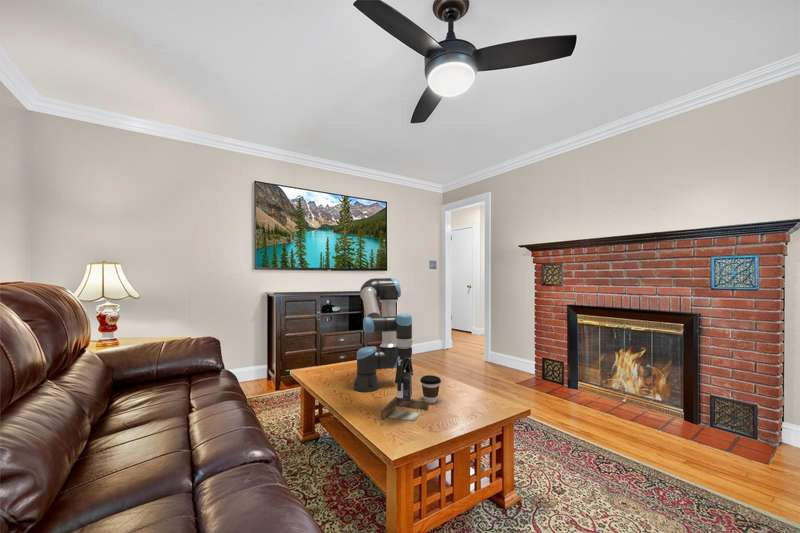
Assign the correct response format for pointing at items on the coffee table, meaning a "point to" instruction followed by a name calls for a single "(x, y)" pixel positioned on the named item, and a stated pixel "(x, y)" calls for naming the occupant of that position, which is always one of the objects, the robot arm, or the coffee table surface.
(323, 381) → the coffee table surface
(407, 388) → the small box
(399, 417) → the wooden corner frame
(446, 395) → the coffee table surface
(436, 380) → the coffee cup
